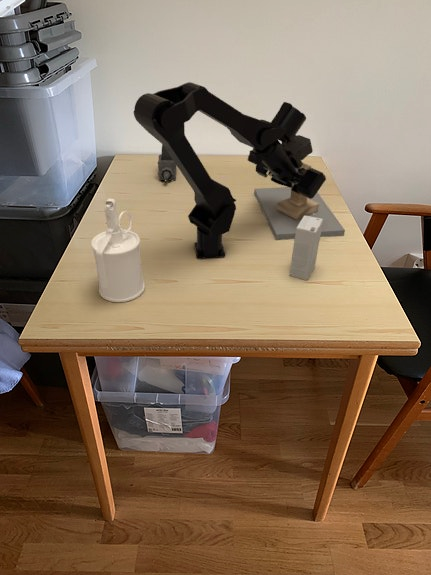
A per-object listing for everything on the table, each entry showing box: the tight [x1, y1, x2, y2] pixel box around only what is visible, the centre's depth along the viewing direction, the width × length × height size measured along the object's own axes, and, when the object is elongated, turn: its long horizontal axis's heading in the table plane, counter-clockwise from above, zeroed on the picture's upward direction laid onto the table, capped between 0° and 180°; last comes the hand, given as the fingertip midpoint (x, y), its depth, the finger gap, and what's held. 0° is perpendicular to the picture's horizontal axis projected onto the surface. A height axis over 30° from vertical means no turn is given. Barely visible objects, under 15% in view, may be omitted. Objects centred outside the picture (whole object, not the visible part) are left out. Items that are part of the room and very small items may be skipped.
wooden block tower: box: [277, 162, 319, 220], centre depth 119 cm, size 8×7×12 cm
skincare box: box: [289, 216, 323, 281], centre depth 99 cm, size 6×4×12 cm
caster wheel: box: [157, 144, 178, 182], centre depth 141 cm, size 6×10×15 cm
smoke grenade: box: [90, 198, 146, 303], centre depth 91 cm, size 10×9×20 cm
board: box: [253, 186, 346, 241], centre depth 125 cm, size 26×17×2 cm, turn 8°
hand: (303, 190), depth 120 cm, fingers closed on wooden block tower, 3 cm apart
